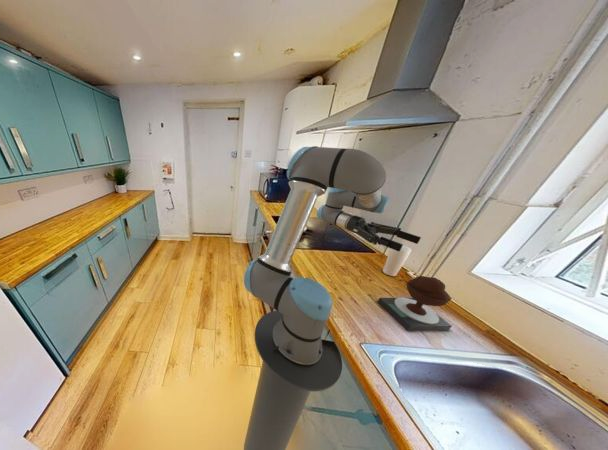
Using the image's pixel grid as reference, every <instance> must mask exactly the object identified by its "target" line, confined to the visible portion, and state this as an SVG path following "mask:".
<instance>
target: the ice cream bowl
mask: <svg viewBox="0 0 608 450" xmlns="http://www.w3.org/2000/svg"><path fill="white" fill-rule="evenodd" d="M405 286H406V290H407V292H408V295H410V298H414V299H415V300H416V301H417V302H416V304H413V303H409V304H407V305H406V306H407V308H408V309H409V310H410V311H412V312H413V313H416V314H418V315H423V316H425V315H426V314H427V313H426V311H425V309H423V308H422V306H423V304H424V305H425V306H430V307H442V306H444V305H446V304H447V303H449V302H450V301H451V300H452V297H451V295H450V294H449V293H448V292H447V291H446V284H445V283H444V282H443V281H441V280H440V279H438V278H437V277H434V276H433V277H431V276H425V275H419V276H416V277H414V278H412V279H410V280H409V281H407V282H406V285H405Z"/></svg>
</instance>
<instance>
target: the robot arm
mask: <svg viewBox="0 0 608 450" xmlns="http://www.w3.org/2000/svg"><path fill="white" fill-rule="evenodd" d="M386 173H387V172H386V169H385V167H384V166H383V164H382V163H381V162H380V161H379V160H378V159H377V158H376V157H374V156H373V155H371V154H369V153H367V152H365V151H363V150H361V149H357V148H343V147H324V146H317V145H314V146H303V147H301V148H298V149H297V150H296V151H295V152H294V153H293V155H292V156H291V158H290V160H289V161H288V164H287V170H286V178H287V179H288V180H289V181H288V186H289V188H290V191H289V193H288V195H287V198H286V200H285V203H284V206H283V208H282V210H281V213H280V215H279V217H278V221H277V223H276V225H275V228H274V230H273V231H272V235H271V237H270V240H269V242H268V245H267V247H266V249H265V252H264V253H263V254H261V255H259V256H258V257H257V259H253V260H251V261H250V263H249V265H247V266H246V269H245V272H244V275H243V285H244V288H245V289H246V291H247V292H249V293H250V294H251V295H252V296H253V297H254V298H257V299H258V300H259V301H261V302H263V303H264V304H266V305H267V306H269V307H271V308H272V309H273V310H274V311H278V312H280V313H281V314H283V316H282V318H281V319H280V321H278V322H277V323H276V325H275V326H274V328H273V332H272V341H273V344H274V346H275V348H274V349H273V351H274V352H275V351H276V350H277V351H278V352H279V353H280V354H281V355H282V356H283V357H284V358H285V359H286V360H288V361H289V362H291V363H293V364H295V365H298V366H303V367H310V366H313V365H315V364H317V363H318V362H319V360H320V358H321V355H322V340H323V339H322V335H323V332H324V329H325V327H326V325H327V322H328V319H330V317H331V313H332V308H333V298H332V296H331V295H330V293H329V291H328V290H327V288H326V287H325V286H323V285H322V284H321V283H320V282H318V281H317V280H314V279H313V278H310V277H307V276H306V277H304V276H297V277H294V278H293V277H292V276H291V274H292V272H293V271H292V270H293V269H292V268H291V265H290V264H291V262H292V259H293V257H294V254H295V252H296V249H297V247H298V245H299V242H300V241H301V237H302V235H303V233H304V232H305V228H306V226H307V224H308V221H309V219H310V217H311V214H312V212H313V210H314V207H315V205H316V202H317V200H318V198H319V197H321V196H323V195H325V194H326V192H328V193H327V195H326V196H327V197H326V201H325V204H322V205H321V206H319V207H318V209H317V211H316V218H318V219H319V220H321V221H323V222H325V223H328V224H331V225H334V226H336V227H338V228H340V229H341V230H347V231H348V232H350V233H353V234H356V235H357V236H359V237H361V238H362V239H363V240H365V241H366V242H368V243H370V244H372V245H375V246H376V245H378V244H380V245H381V246H384V247H387V248H388V249H394V250H396V251H400V250H401V248H402V246H403V245H404V244H402V243H401V242H398V241H395V240H393V239H389V238H387V237H384V236H379V235H378V234H384V235H391V236H396V238H399V239H402V240H405V241H408V242H410V243H413V244H415V245H418V244H419V243H420V241H421V238H422V237H421V236H418V235H415V234H412V233H409V232H406V231H403V230H402V228H401V227H397V226H396V227H395V226H390V225H386V224H383V223H377V222H374V221H371V222H366V219H365V217H364V216H360V215H357V214H353V213H350V212H348V211H345V210H343V208H344V207H347V208H348V207H349V208H353V209H357V210H363V211H366V212H370V213H376V214H383V213H384V212H385V210H386V208H387V205H388V203H389V201H390V196H387V195H383V194H382V187H384V185H385V183H386V179H387V174H386ZM328 188H329V190H328ZM327 190H328V191H327Z"/></svg>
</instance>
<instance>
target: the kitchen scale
mask: <svg viewBox="0 0 608 450" xmlns="http://www.w3.org/2000/svg"><path fill="white" fill-rule="evenodd" d="M416 302H417V301H416V300H415V299H414V298H412V297H379V298H378V300H377V304H379V305H380V307H382V308H383V309H384V310H385V311H386V312H387V313H388V314H389V315H390V316H392V318H394V320H395V321H396V322H398V324H400V326H401V327H403V328H404V329H405V330H406V331H407V332H415V331H416V332H417V331H419V332H425V331H426V332H427V331H428V332H429V331H433V332H435V331H449V330H450V329H451V328H452V325H451V324H450V323H449V322H448V321H446V319H444V318H442V317H441V316H440V315H439V314H437V313H436V312H435V311H434V310H433V309H431V308H430V307H428V305H424V304H423V306H422V308H423V309H425V311H426V313H427V314H426V315H425V316H423V315H418V314H416V313H413V312H412V311H410V310H409V309H408V308H407V306H406V305H407V304H409V303H413V304H416Z"/></svg>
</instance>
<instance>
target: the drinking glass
mask: <svg viewBox="0 0 608 450" xmlns="http://www.w3.org/2000/svg"><path fill="white" fill-rule="evenodd" d="M411 253H412V249H411V248H410V247H409V246H406V245H404V244H403V246H402V248H401V250H400V251H396V250H394V249H391V248H389V252H388V254H387V257H386V260H385V262H384V266H383V268H382V272H383V273H384V274H385V275H387V276H390V277H397V275H398V273H399V272H400V270H401V269H402V267H403V266H404V264H405V263H406V261H407V260H408V258H409V256H410V255H411Z"/></svg>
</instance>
